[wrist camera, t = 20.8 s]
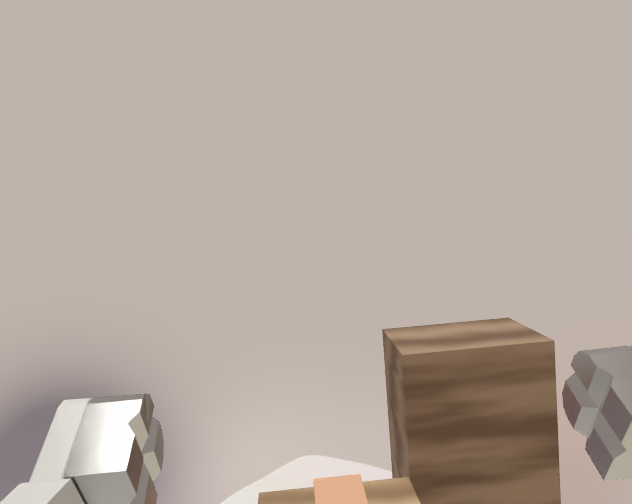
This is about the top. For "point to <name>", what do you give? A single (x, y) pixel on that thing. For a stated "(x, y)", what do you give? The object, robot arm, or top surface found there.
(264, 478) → the top surface
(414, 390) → the brown wooden stepped block
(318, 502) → the long slim case
